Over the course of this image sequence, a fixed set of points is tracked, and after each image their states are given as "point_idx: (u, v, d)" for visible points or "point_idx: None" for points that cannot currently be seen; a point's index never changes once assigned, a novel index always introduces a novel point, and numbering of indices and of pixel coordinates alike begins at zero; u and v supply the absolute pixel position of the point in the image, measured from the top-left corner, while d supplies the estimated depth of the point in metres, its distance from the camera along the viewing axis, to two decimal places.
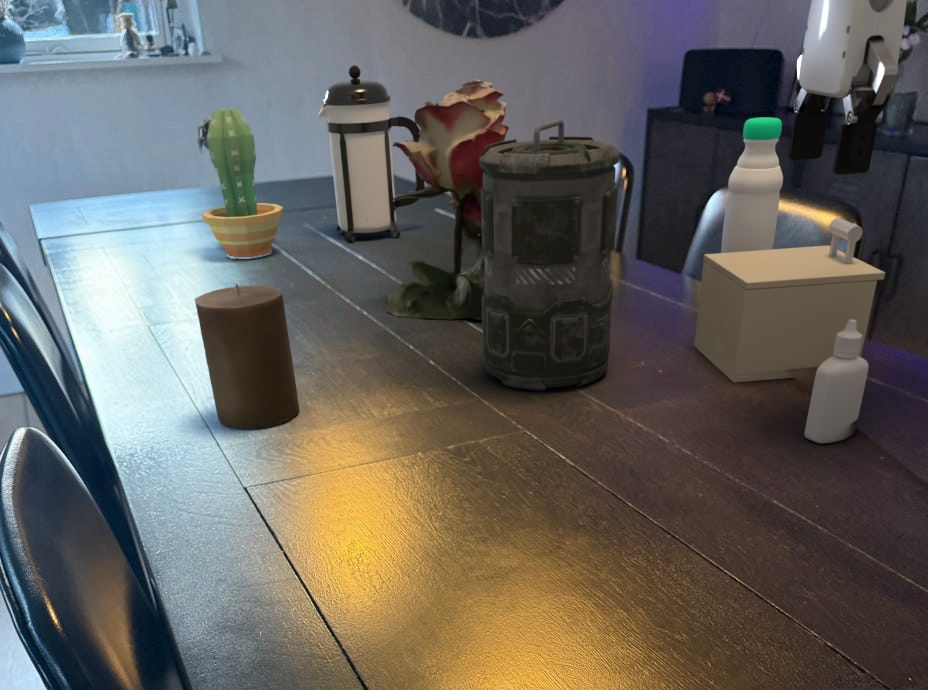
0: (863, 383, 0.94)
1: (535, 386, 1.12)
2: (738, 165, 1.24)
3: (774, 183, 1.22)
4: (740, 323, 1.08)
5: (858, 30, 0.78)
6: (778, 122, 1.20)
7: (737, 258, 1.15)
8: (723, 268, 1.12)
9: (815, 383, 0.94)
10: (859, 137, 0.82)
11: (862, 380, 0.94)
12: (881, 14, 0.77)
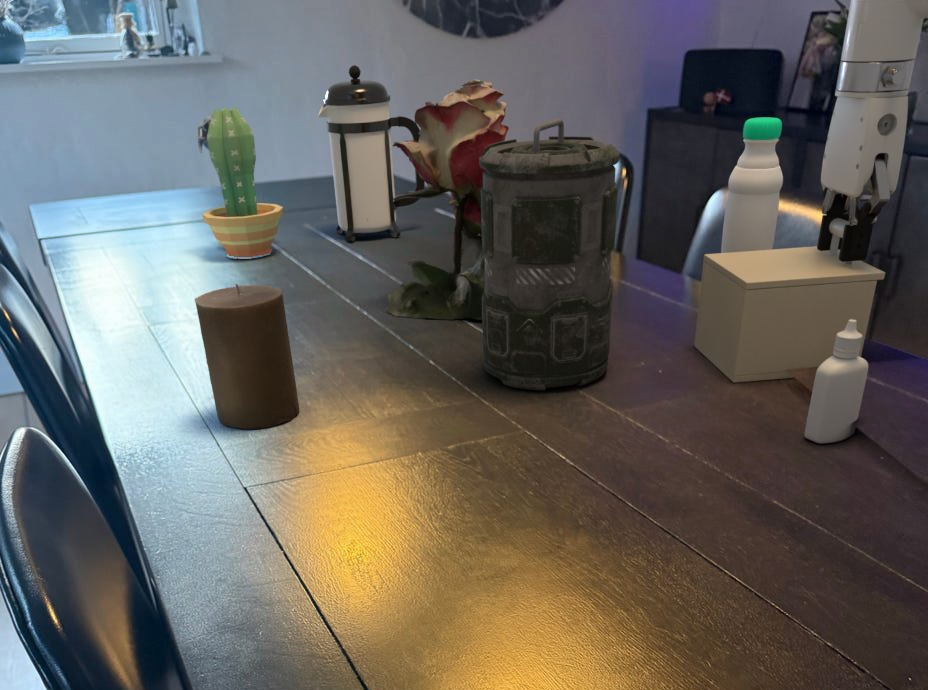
0: (863, 383, 0.94)
1: (535, 386, 1.12)
2: (738, 165, 1.24)
3: (774, 183, 1.22)
4: (740, 323, 1.08)
5: (868, 149, 1.01)
6: (778, 122, 1.20)
7: (737, 258, 1.15)
8: (723, 268, 1.12)
9: (815, 383, 0.94)
10: (859, 235, 1.07)
11: (862, 380, 0.94)
12: (886, 137, 1.00)
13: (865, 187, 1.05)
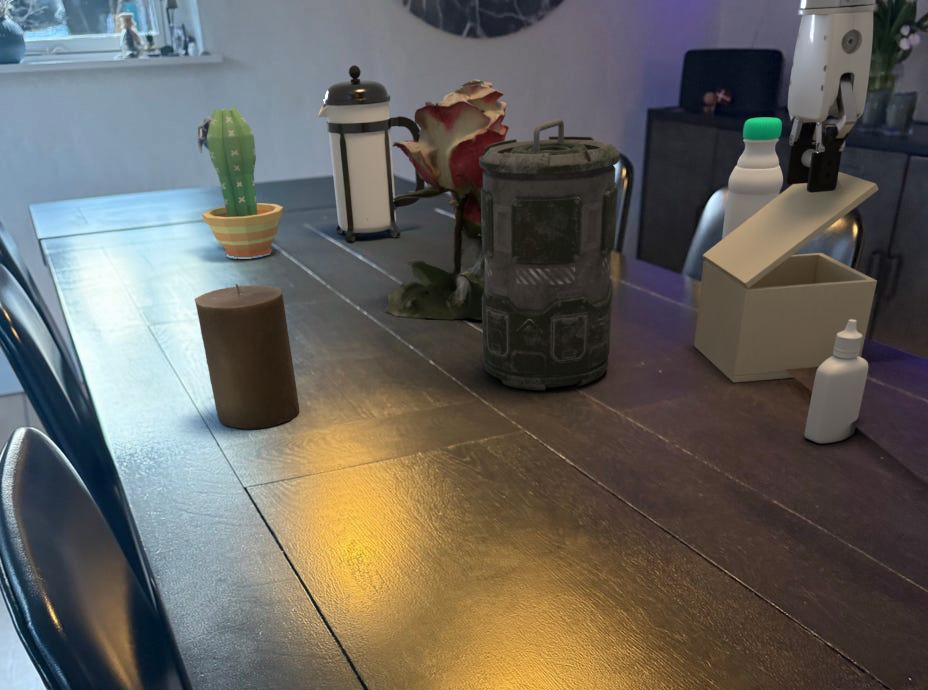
0: (863, 383, 0.94)
1: (535, 386, 1.12)
2: (738, 165, 1.24)
3: (774, 183, 1.22)
4: (740, 323, 1.08)
5: (833, 68, 0.96)
6: (778, 122, 1.20)
7: (732, 244, 1.14)
8: (722, 268, 1.12)
9: (815, 383, 0.94)
10: (827, 163, 1.02)
11: (862, 380, 0.94)
12: (851, 55, 0.96)
13: (832, 111, 1.00)
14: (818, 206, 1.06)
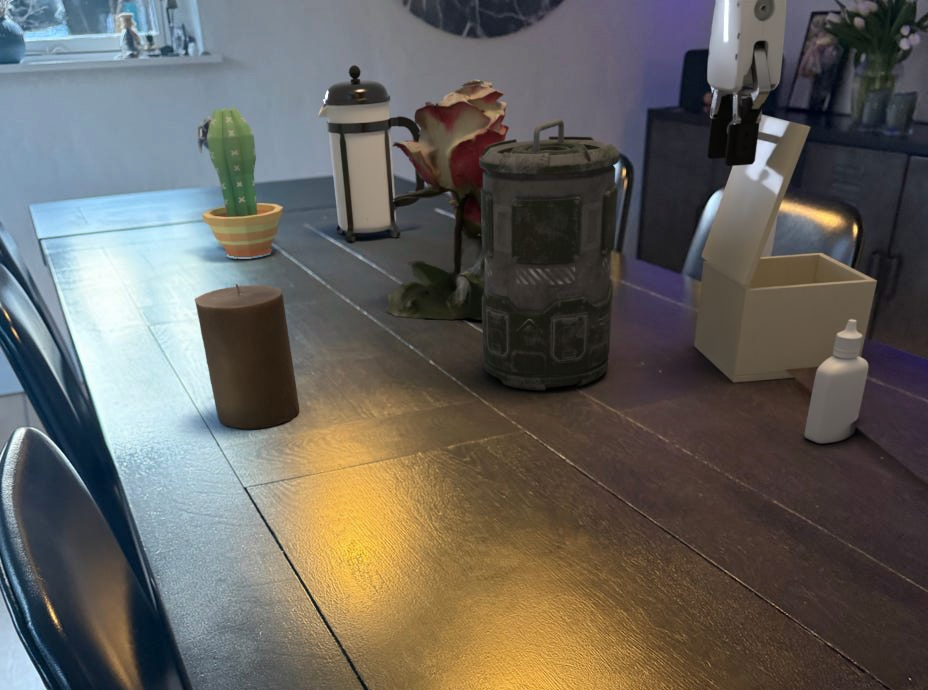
0: (863, 383, 0.94)
1: (535, 386, 1.12)
2: None
3: None
4: (740, 323, 1.08)
5: (746, 36, 0.94)
6: None
7: (719, 236, 1.13)
8: (721, 270, 1.12)
9: (815, 383, 0.94)
10: (744, 135, 1.00)
11: (862, 380, 0.94)
12: (764, 23, 0.93)
13: (748, 81, 0.98)
14: (768, 169, 1.03)
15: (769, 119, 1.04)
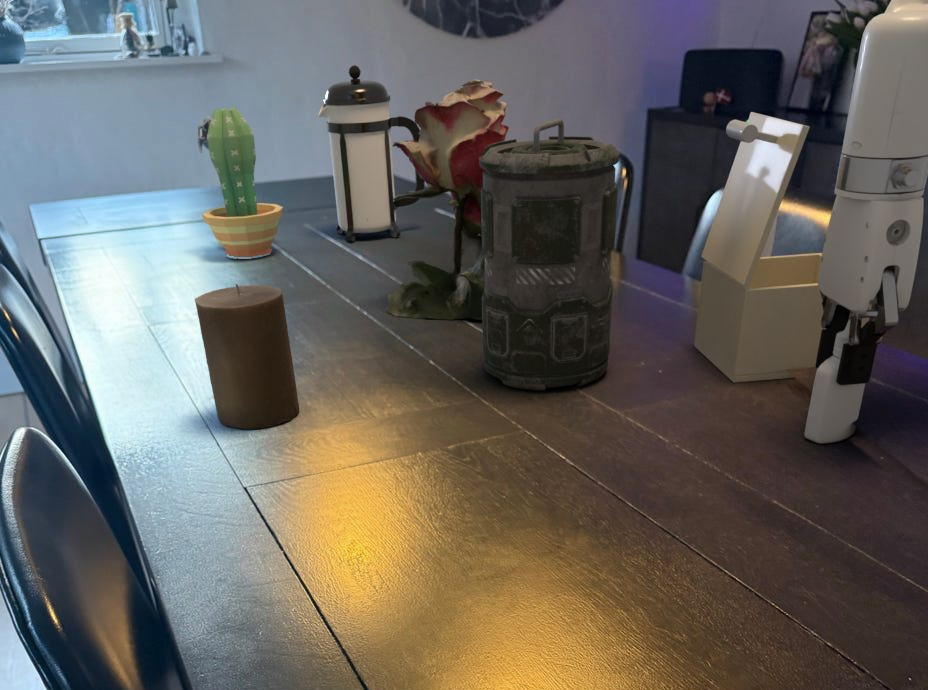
0: None
1: (535, 386, 1.12)
2: None
3: None
4: (740, 323, 1.08)
5: (875, 261, 0.83)
6: None
7: (719, 236, 1.13)
8: (721, 270, 1.12)
9: (815, 383, 0.94)
10: (860, 356, 0.90)
11: None
12: (897, 247, 0.82)
13: (871, 302, 0.87)
14: (768, 169, 1.03)
15: (768, 119, 1.04)
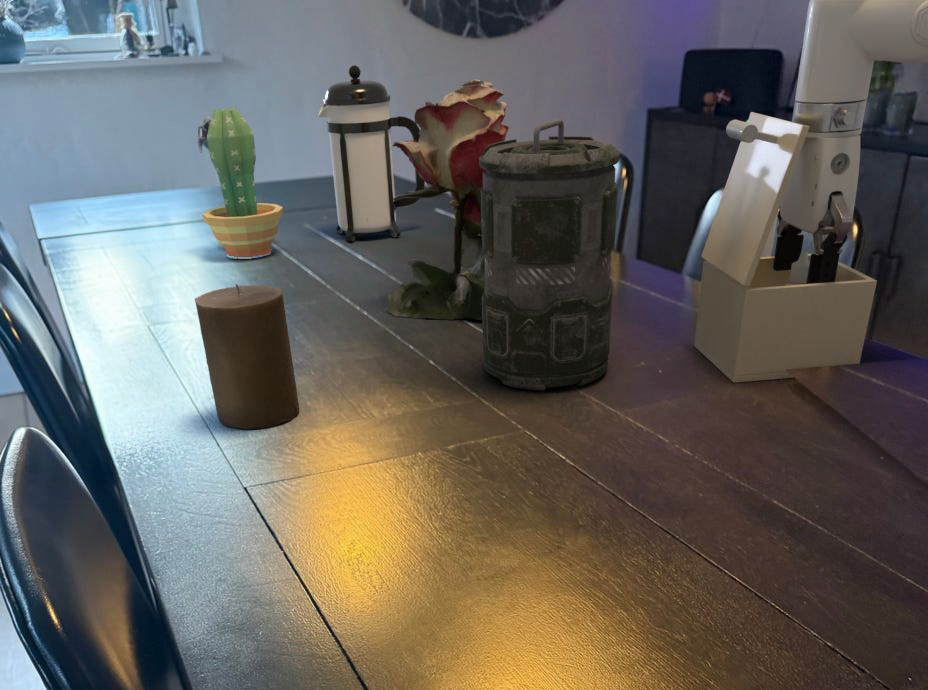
0: None
1: (535, 386, 1.12)
2: None
3: None
4: (740, 323, 1.08)
5: (823, 187, 1.03)
6: None
7: (719, 236, 1.13)
8: (721, 270, 1.12)
9: None
10: (825, 264, 1.07)
11: None
12: (840, 176, 1.02)
13: (821, 223, 1.07)
14: (768, 169, 1.03)
15: (768, 119, 1.04)
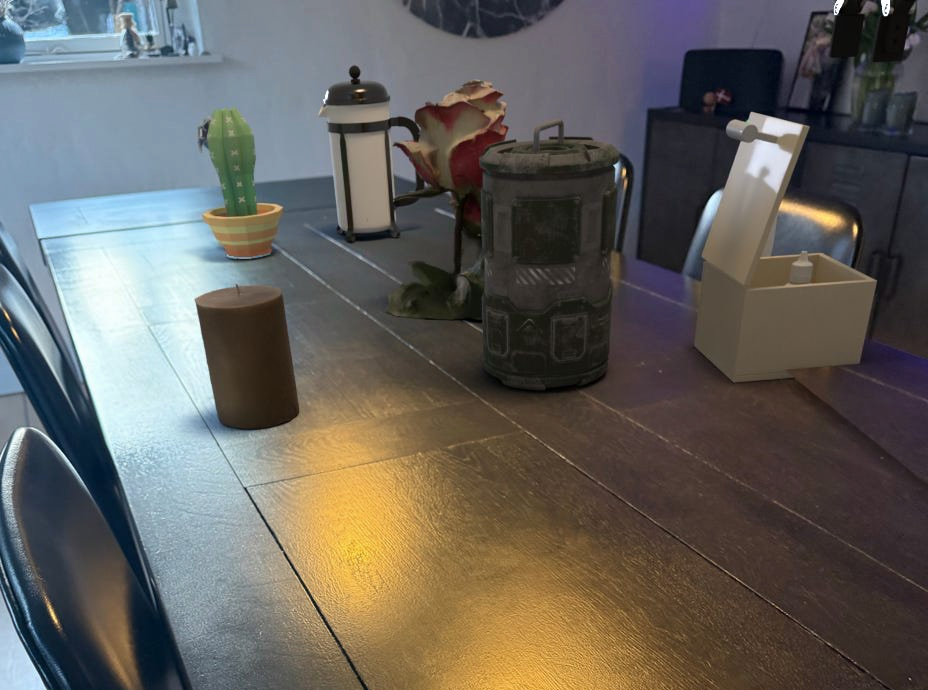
0: None
1: (535, 386, 1.12)
2: None
3: None
4: (740, 323, 1.08)
5: None
6: None
7: (719, 236, 1.13)
8: (721, 270, 1.12)
9: None
10: (894, 27, 0.94)
11: None
12: None
13: None
14: (768, 169, 1.03)
15: (768, 119, 1.04)
